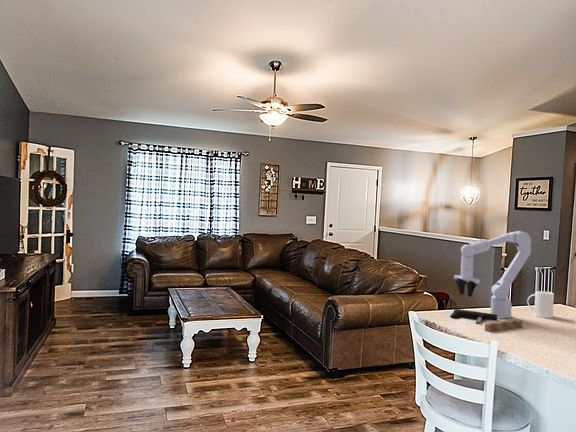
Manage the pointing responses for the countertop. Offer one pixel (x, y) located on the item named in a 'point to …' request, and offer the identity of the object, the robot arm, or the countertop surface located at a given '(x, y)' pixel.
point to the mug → (543, 304)
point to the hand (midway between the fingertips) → (465, 295)
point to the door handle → (473, 315)
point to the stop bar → (503, 325)
